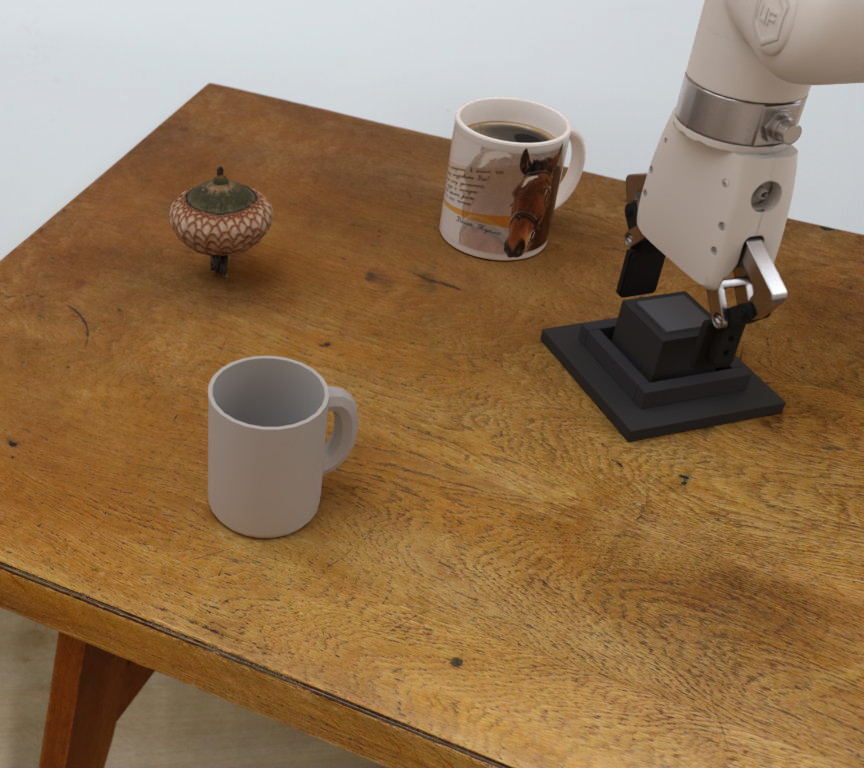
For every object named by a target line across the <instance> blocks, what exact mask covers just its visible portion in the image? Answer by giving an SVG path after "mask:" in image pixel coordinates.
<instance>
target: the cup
mask: <svg viewBox="0 0 864 768" xmlns="http://www.w3.org/2000/svg"><path fill="white" fill-rule="evenodd" d="M330 412H332V413H333V416H334V417H333V427H332V431H331V434H330V436H329V438H328V440H327V442H326V439H327V429H328V416H329V413H330ZM359 425H360V420H359V411H358V406H357V403H356V400H355V398H354V396H353V394H352V393H351V392H349V391H347V390H346V389H344V388H342V387H340V386H337V385H336V386H335V385H328V384H327V383H326V380H325V379H324V377H323V376H322V375H321V374H320V373H319V372H318V371H317V370H315V369H314V368H312V367H311V366H309V365H307V364H305V363H304V362H301V361H299V360H295V359H293V358H289V357H283V356H277V355H254V356H249V357H248V356H247V357H243V358H240V359H237V360H234V361H232V362H229V363H228V364H226V365H225V366H223V367H221V368H219V369H218V371H216V372H215V374H214V375H212V376H211V379H210V381H209V383H208V386H207V499H208V501H207V502H208V504H209V508H210V510H211V512H212V513H213V515H214V516H215V517H216V518H217V519H218V521H219V522H220V523H221V524H223V525H224V526H225V527H227V528H228V529H230V530H231V531H233V532H235V533H238V534H240V535H242V536H244V537H249V538H250V537H251V538H256V539H274V538H280V537H284V536H285V537H286V536H288V535H291V534H293V533H295V532H297V531H299V530H300V529H301V528H303V527H304V526H306V525H307V524H308V523H309V522H311V520H312V519H313V517H314V516H315V515H316V514H317V512H318V508H319V505H320V501H321V496H322V488H323V487H322V485H323V476H324V475H326V474H329V473H332V472H333V471H335V470H336V469H338V468H339V467H340V466H341V465H342V464H343V463H344V462H345V461H346V460H347V459H348V458H349V456H350V454H351V452H352V450H353V449H354V447H355V445H356V441H357V438H358V434H359Z"/></svg>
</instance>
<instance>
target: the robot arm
mask: <svg viewBox="0 0 864 768" xmlns="http://www.w3.org/2000/svg"><path fill="white" fill-rule="evenodd" d="M846 84H847V85H849V84H850V85H851V84H864V0H704V2H703V6H702V9H701V13H700V17H699V21H698V23H697V28H696V32H695V35H694V39H693V43H692V47H691V51H690V55H689V58H688V63H687V65H686V70H685V72H684V76H683V79H682V83H681V87H680V90H679V95H678V98H677V102H676V105H675V107H674V108H673V109H672V112H671V113H670V115H669V118H668V120H667V122H666V124H665V126H664V128H663V131H662V132H661V135H660V137H659V140H658V143H657V145H656V148H655V151H654V153H653V156H652V159H651V161H650V165H649V168H648V170H647V172H637V173H628V174H627V175H626V177H625V194H626V195H625V197H626V202H627V203H626V204H625V206H624V211H623V212H624V216H625V220H626V221H625V222H626V225H627V229H628V230H627V231H626V232H625V233H624V236H623V239H624V244H625V246H626V247H627V248H628V249H626V252H625V256H624V259H623V262H622V267H621V270H620V274H619V278H618V282H617V285H616V289H615V292H616V294H617V295H618V296H619V297H620V298H631V297H637V296H638V297H639V296H644V295H651V294H654V293H655V292H656V291H657V288H658V284H659V281H660V277H661V274H662V271H663V267H664V263H665V261H666V258H667V259H668V260H669V261H670V262H672V263H673V264H674V265H675V266H676V267H678V268H679V269H680V270H681V271H682V272H683V273H685V275H687V276H688V277H689V278H690V279H691V280H693V281H694V282H695V283H696V284H698V285H699V286H700V287H702V288H704V289H705V290H706V296H707V301H708V308H709V313H710V314H711V319H708V320H704V322H703V323H702V326H701V329H700V332H699V335H698V338H697V341H696V344H695V347H694V350H693V353H692V356H691V359H690V366H691V367H692V368H693V369H694V370H695V371H702V370H707V369H713V368H719V367H725V366H729V365H730V364H731V363H732V362H733V359H734V356H735V355H736V354H737V351H738V348H739V345H740V342H741V339H742V337H743V333H744V331H745V328H746V325H750V324H754V323H755V322H758V321H761V320H765V319H767V318H769V317H770V316H771V315H772V312H774V311H775V310H776V309H777V308H779V306H781V305H782V304H783V303H784V302H785V301H787V299H788V297H789V296H788V295H789V294H788V289H787V287H786V285H785V282H784V281H783V279H782V278H781V275H780V273H779V271H778V269H777V267H776V265H775V262H776V259H777V256H778V253H779V250H780V246H781V243H782V239H783V236H784V232H785V228H786V224H787V221H788V217H789V213H790V209H791V204H792V199H793V194H794V189H795V182H796V175H797V169H798V155H799V150H798V148H796V147H795V146H794V145H793V144H794V143H796V142H797V141H798V140H799V139H800V138H801V135H802V133H803V132H802V131H803V129H802V127H801V125H799V124H800V120H801V116H802V115H803V111H804V109H805V105H806V102H807V99H808V96H809V92H810V90H811V88H812V86H829V85H833V86H834V85H846ZM731 273H732V274H733V277H730V275H731ZM728 277H730V278H728ZM728 289H733V290H734V295H735V300H736V305H733V306H730V307H729V306H728V302H727V296H726V290H728Z"/></svg>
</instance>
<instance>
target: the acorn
mask: <svg viewBox="0 0 864 768" xmlns="http://www.w3.org/2000/svg"><path fill="white" fill-rule="evenodd" d="M224 172H225V170H224V168H223V166H222V165H219V167H218V168H217V169H216V176H215V177H214V178H213V179H212V180H207V181H205V182H202V183H200V184H199V185H197V186H194V187H190V188H187V189H186V190H184V191H182V193H180V194H179V195H178V196H177V197H176V198H175V199H174V201H173V202H172V204H171V206H170V210H169V215H168V217H169V223H170V227H171V229H172V230H173V231H174V234H175V235H176V237H177V239H179V241H180V242H182V243H183V244H184V245H185V246H186V247H187V248H188V249H190V250H192V251H194V252H196V253H197V254H199V255H204V256H205V255H206V256H209V257H210V261H209V262H210V263H209V272H213V273H214V274H215V275H217V276H219V277H221V276H222V277H224V278H228V277H229V276H230V275H229V274H228V271H229V268H228V265H229V255H238V254H240V253H245V252H247V251H248V250H250V249H252V248H253V247H254V246H255V245H257V244H259V243H260V242H261V240H262V239H263V237H265V236H266V234H267V233H268V231H270V229H271V227H272V223H273V220H274V209H273V206H272V204H271V203H270V202H269V201H268V199H267V197H266V196H265V195H264V194H263V193H262V192H260V191H258V190H257V189H256V188H254V187H252V186H250V185H246V184H242V183H240V182H237V181H234V180H229V179H228V177H227V176H226V175H225V173H224Z"/></svg>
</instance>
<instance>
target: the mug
mask: <svg viewBox="0 0 864 768" xmlns="http://www.w3.org/2000/svg"><path fill="white" fill-rule="evenodd" d="M452 128H453V129H452V135H451V142H450V148H449V154H448V155H449V156H448V161H447V169H446V174H445V175H446V176H445V182H444V189H443V197H442V204H441V210H440V216H439V223H438V224H439V225H438V226H439V228H438V229H439V232H440V235H441V236H442V238H443V239H444V240H445V241H446V242H447V243H448V244H449V245H450V246H451V247H452V248H454V249H457V250H458V251H460V252H462V253H465V254H466V255H470V256H473V257H476V258H480V259H484V260H485V259H486V260H490V261H506V262H507V261H517V260H523V259H527V258H528V259H529V258H532V257H533V256H536V255H537V254H540V253H541V252H542V251H543V250H544V249H545V247H546V246H547V244H548V242H549V241H548V240H549V236H550V233H551V227H552V222H553V217H554V212H555V210H556V209H558V208H559V207H561V206H562V205H563V204H564V203H565V202H566V201H567V200H568V199H569V198H570V197H571V195H572V194H573V193H574V191H575V189H576V188H577V187H578V184H579V182H580V181H581V177H582V175H583V171H584V167H585V165H586V164H585V163H586V156H587V155H586V154H587V150H586V149H587V148H586V143H585V139H584V137H583V135H582V134H581V132H580V131H579V130H578V129H576V127H574V126H572V125H571V122H570V121H569V118H567V116H566V115H565V114H563V113H562V112H561V111H559V110H557V109H555V108H553V107H551V106H548V105H546V104H543V103H540V102H537V101H533V100H528V99H523V98H518V97H507V96H506V97H505V96H493V97H492V96H491V97H490V96H489V97H482V98H476V99H473V100H469V101H467V102H465V103H463V104H462V105H460V106H459V107H458V108H457V110H456V112H455V115H454V121H453V126H452ZM569 143H570V149H571V153H570V161H569V165H568V167H567V170H566V172H565V175H564V176H563V178H562V175H563V171H564V166H565V162H566V156H567V152H568V147H569Z"/></svg>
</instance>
